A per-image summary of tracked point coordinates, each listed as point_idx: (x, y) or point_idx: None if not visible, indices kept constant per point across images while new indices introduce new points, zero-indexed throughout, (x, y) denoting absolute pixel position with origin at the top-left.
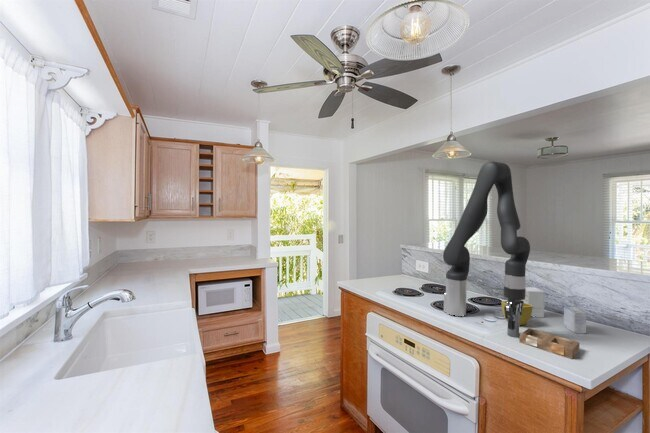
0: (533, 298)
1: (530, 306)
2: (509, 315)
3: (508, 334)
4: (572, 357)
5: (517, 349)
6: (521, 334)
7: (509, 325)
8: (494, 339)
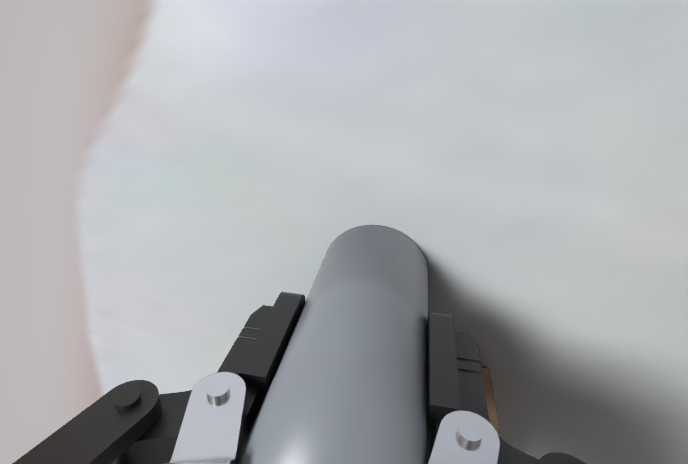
0: None
1: None
2: (228, 445)
3: (331, 247)
4: None
5: (121, 340)
6: None
7: (247, 337)
8: (121, 173)
